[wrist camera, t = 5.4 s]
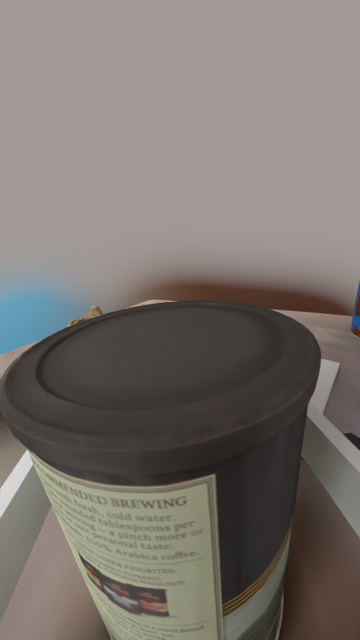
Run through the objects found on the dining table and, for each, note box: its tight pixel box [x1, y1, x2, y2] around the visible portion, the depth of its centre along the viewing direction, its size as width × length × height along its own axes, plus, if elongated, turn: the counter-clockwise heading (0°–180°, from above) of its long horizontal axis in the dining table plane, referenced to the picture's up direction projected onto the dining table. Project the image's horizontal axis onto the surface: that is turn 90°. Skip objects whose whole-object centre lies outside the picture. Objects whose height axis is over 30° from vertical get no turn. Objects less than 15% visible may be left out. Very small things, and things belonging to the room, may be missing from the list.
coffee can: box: [0, 301, 321, 640], centre depth 10 cm, size 10×10×14 cm
